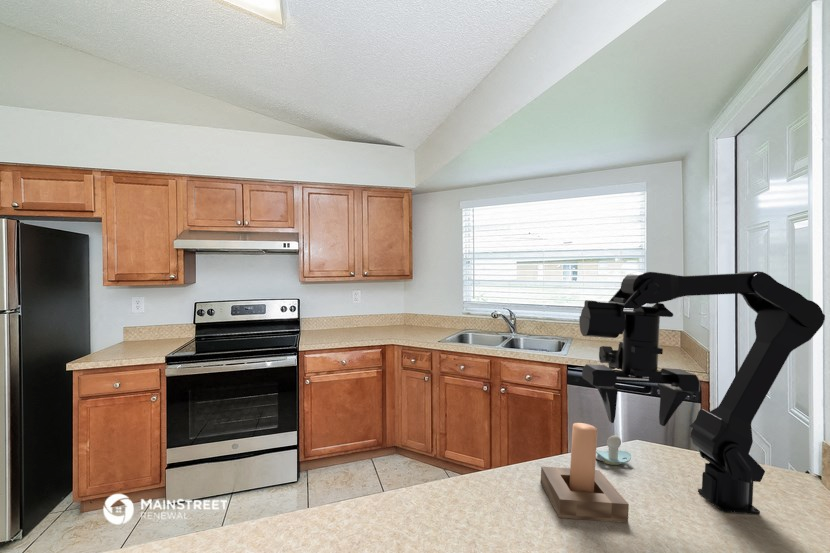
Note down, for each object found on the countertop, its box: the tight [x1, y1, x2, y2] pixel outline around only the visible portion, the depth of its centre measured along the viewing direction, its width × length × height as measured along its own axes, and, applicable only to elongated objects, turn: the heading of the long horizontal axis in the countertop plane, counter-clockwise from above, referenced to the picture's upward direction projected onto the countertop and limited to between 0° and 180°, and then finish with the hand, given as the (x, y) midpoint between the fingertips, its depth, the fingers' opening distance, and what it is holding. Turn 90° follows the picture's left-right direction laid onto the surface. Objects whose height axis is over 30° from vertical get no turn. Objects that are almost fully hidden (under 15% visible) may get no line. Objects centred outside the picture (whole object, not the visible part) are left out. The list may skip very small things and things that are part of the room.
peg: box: [569, 422, 598, 493], centre depth 68 cm, size 4×4×12 cm
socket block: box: [540, 466, 630, 523], centre depth 68 cm, size 11×11×3 cm
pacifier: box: [596, 434, 632, 466], centre depth 85 cm, size 7×6×6 cm
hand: (636, 423), depth 71 cm, fingers open, 9 cm apart
